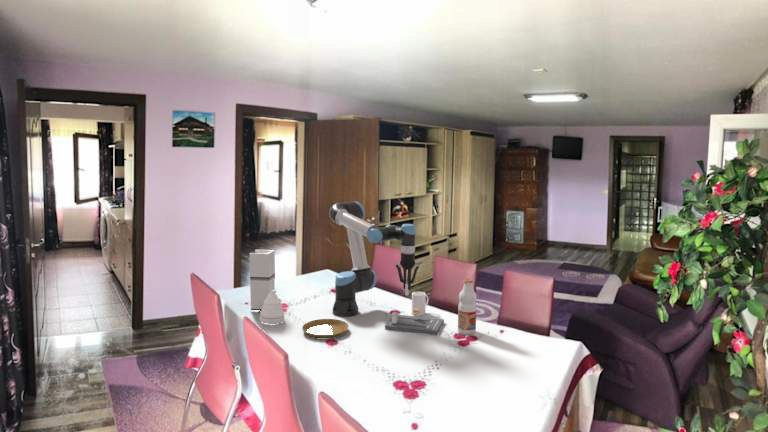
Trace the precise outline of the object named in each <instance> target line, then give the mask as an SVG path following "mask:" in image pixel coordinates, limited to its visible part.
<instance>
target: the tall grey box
mask: <svg viewBox="0 0 768 432" xmlns="http://www.w3.org/2000/svg"><path fill="white" fill-rule="evenodd" d="M275 252H276V251H275V250H274V249H255V250H254V252H249V279H250V280H249V282H250V283H249V285H250V286H249V287H250V290H249V291H250V311H251V310H260V311H262V306H263V304H264V303H263V301H264V300H265V299H266V297H267V295H268V294H269V293H270V292H272V290H276V289H275V288H276V287H275V279H276V263H275V262H276V261H275V260H276V259H275V257H276V256H275Z"/></svg>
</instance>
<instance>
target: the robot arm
mask: <svg viewBox="0 0 768 432" xmlns="http://www.w3.org/2000/svg"><path fill="white" fill-rule="evenodd" d="M328 215H329V216H328V217H329V218H330V219H329V220H331V221H332V222H333V223H335V224H336V225H338V226H343V227H345V228H346V232H347V238H348V243H349V249H350V255H351V261H352V268H351V270H348V271H341V272H339V273H337V274H336V276H335V280H334V284H335V285H334V286H335V287H334V288H335V289H334V290H335V291H334V293H335V294H334V295H335V300H334V303H333V306H332V314H333V315H335V316H338V317H352V316H357V315H358V314H359V307H358V304H357V300H356V294H358V293H362V292H365V291H369V290H372V289H374V288H375V286H376V285H377V280H378V279H377V278H378V277H377V274H376V273H375V271H374V270H373V269H372V267H371V266H370V265H369V264H368V258H367V254H366V248H365V243H364V239H363V238H364V237H366V239H367V241H368V242H369V243H371V244H374V243H375V244H378V243H381V242H382V243H383V242H387V241H388V242H389V241H395V240H396V241H400V243H401V244H400V252H401V253H400V261H399V262H398V263H397V264H395V267H396V269H397V273H398V278H399V281H400V283H403V284H402V285H403V290H404V296H409V293H410V291H409V290H411V288H412V286H411V285H412V284H413V283H414V282H415V280H416V276H417V273H418V270H419V268H420V265H418V264H416V262H415V261H416V260H415V258H416V257H415V256H416V233H417V232H416V226H415V224H413V223H403V224H402V225H401V226H398V225H394V224H387V225H386V226H384V227H383V226H382V227H379V226H376V225H375V224H372V223H370V222H368V221H366V220H364V218H365V215H366V212H365V207H364V205H362V203H360V202H359V201H352V200H351V201H344V202H336V203H334V204H333V205H332V206H331V207H330V208H329V211H328ZM363 236H364V237H363ZM401 268H402V269H401ZM412 269H414V271H413V273H412ZM402 270H403V273H402Z"/></svg>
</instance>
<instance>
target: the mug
mask: <svg viewBox="0 0 768 432" xmlns="http://www.w3.org/2000/svg"><path fill="white" fill-rule="evenodd" d="M426 299H427V300H426ZM428 303H429V296H428V295H427V294H426V292H424V291H413V292H411V311H410V314H411V315H412V316H414V312H413V310H414V309H415V308H416V309H420V310H419V317H422V316H425V315H426V314H427V313H426V307H427V306H428Z"/></svg>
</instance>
